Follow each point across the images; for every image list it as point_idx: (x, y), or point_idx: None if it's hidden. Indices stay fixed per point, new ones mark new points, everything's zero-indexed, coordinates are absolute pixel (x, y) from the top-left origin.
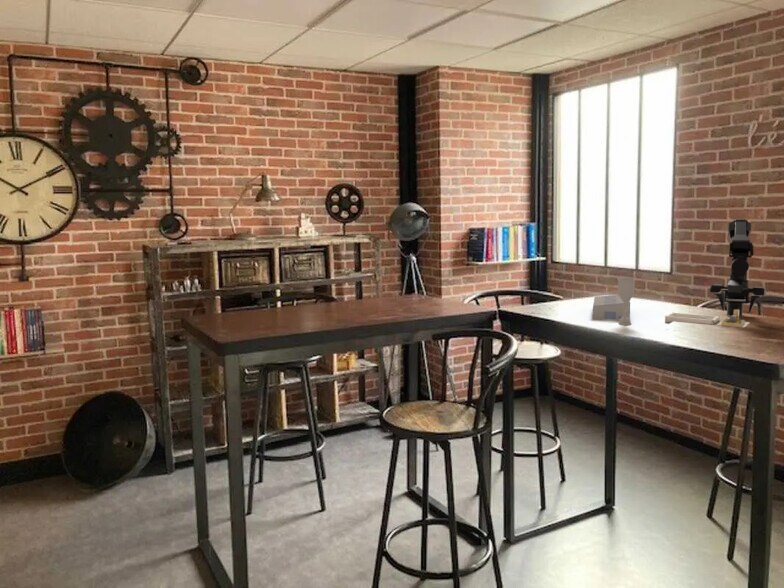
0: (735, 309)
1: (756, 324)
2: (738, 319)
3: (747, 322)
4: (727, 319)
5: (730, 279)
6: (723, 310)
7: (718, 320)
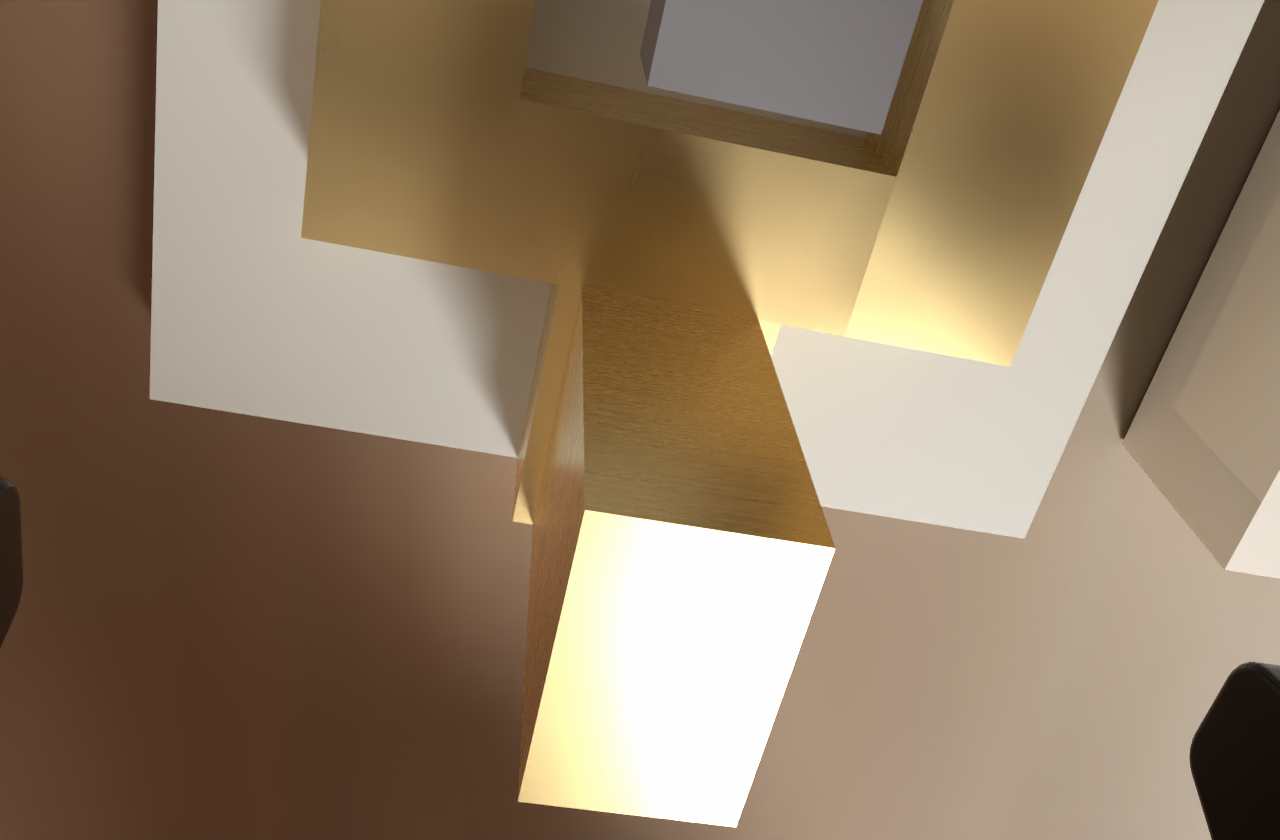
0: (714, 765)
1: None
2: (553, 259)
3: (234, 355)
4: (1026, 70)
5: None
6: (1258, 665)
7: (1211, 390)
